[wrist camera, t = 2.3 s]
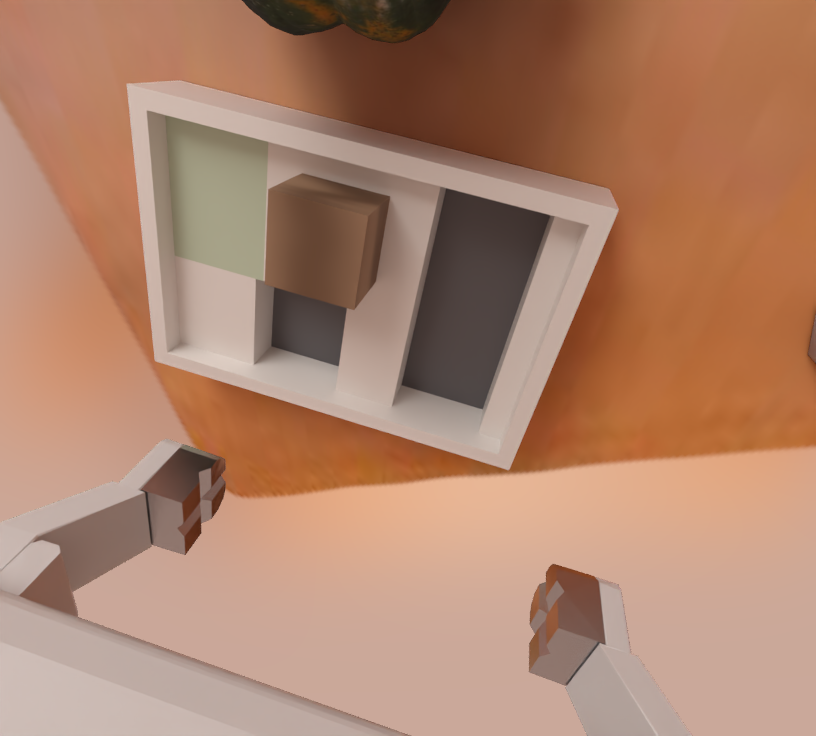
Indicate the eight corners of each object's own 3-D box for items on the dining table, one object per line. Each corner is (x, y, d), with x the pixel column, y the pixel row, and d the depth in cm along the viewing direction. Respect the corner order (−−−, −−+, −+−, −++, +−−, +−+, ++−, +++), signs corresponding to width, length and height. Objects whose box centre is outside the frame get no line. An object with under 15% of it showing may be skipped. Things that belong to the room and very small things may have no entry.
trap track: (609, 188, 27) (618, 209, 23) (513, 427, 37) (508, 470, 33) (180, 80, 29) (126, 83, 26) (192, 331, 39) (154, 361, 35)
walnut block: (390, 196, 27) (368, 216, 24) (375, 282, 30) (354, 310, 26) (301, 173, 28) (268, 189, 24) (295, 259, 30) (264, 284, 27)
